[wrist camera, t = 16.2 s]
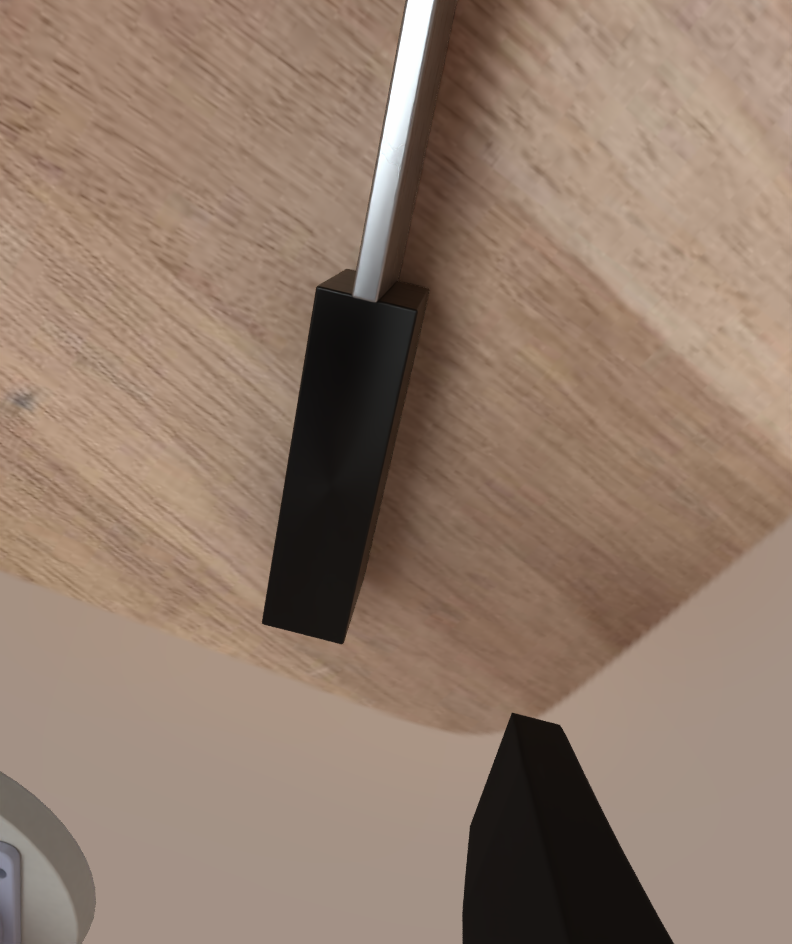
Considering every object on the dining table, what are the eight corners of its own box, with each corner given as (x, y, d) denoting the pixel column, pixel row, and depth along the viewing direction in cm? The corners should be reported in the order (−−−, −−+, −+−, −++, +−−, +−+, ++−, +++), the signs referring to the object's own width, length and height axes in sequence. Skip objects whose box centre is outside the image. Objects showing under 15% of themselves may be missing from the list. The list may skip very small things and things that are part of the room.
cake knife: (364, 578, 19) (339, 656, 16) (293, 561, 19) (255, 634, 16) (603, -467, 11) (650, -729, 8) (480, -492, 11) (478, -762, 8)
